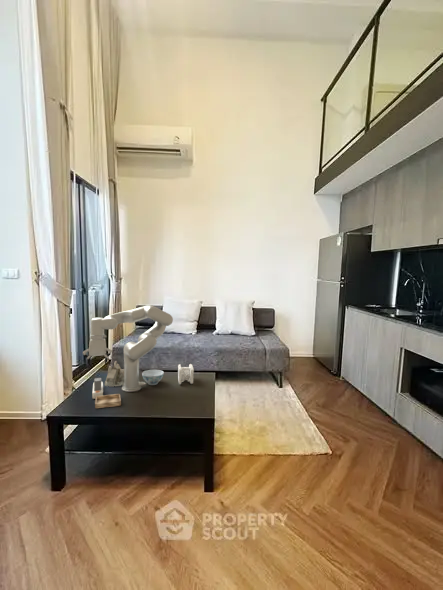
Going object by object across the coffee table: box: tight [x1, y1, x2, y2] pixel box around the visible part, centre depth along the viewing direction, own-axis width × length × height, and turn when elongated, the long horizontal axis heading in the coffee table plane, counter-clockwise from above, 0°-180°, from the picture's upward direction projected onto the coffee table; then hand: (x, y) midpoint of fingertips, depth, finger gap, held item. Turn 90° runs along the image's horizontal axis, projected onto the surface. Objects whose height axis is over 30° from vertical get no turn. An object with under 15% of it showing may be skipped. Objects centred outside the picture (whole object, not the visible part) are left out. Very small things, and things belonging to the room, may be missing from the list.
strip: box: [91, 381, 104, 400], centre depth 203 cm, size 6×20×4 cm, turn 20°
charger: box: [93, 377, 102, 391], centre depth 200 cm, size 4×6×8 cm, turn 20°
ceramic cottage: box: [104, 360, 124, 388], centre depth 221 cm, size 16×16×15 cm
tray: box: [94, 393, 122, 409], centre depth 187 cm, size 14×12×3 cm
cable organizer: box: [177, 363, 195, 385], centre depth 227 cm, size 15×11×12 cm
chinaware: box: [141, 369, 165, 386], centre depth 222 cm, size 15×15×8 cm
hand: (97, 364), depth 199 cm, fingers open, 9 cm apart
